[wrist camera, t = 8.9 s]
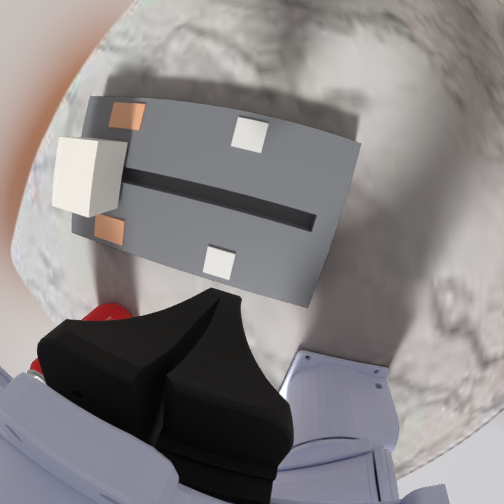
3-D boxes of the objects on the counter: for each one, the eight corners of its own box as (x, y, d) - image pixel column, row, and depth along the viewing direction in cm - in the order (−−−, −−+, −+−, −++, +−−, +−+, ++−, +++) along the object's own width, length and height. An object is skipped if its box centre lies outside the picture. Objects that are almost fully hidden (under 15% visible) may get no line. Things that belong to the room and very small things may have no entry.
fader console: (354, 145, 18) (361, 143, 16) (307, 295, 22) (307, 309, 20) (103, 99, 19) (89, 96, 17) (85, 227, 23) (70, 232, 21)
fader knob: (137, 143, 19) (98, 141, 14) (127, 205, 20) (88, 217, 16) (99, 138, 19) (59, 136, 14) (91, 195, 21) (52, 205, 16)
